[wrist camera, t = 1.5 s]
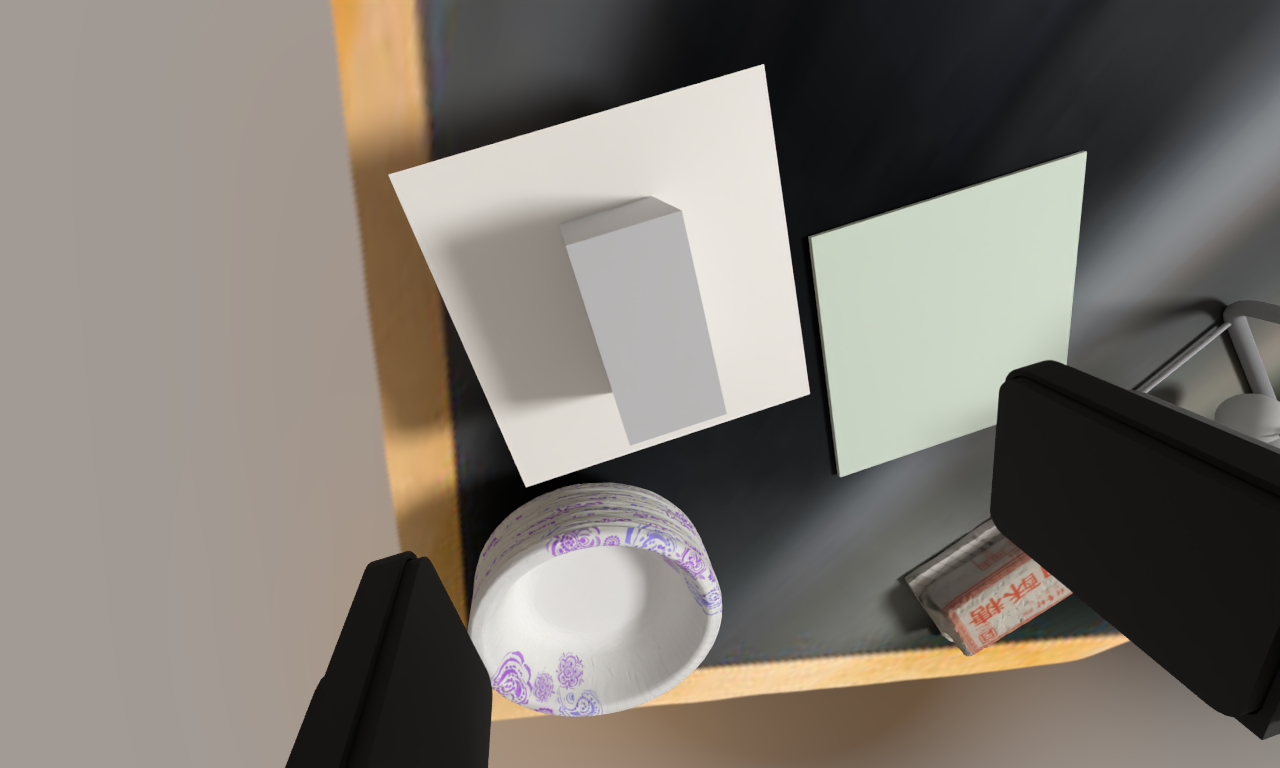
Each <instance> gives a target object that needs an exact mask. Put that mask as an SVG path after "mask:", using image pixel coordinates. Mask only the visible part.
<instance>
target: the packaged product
mask: <svg viewBox="0 0 1280 768" xmlns="http://www.w3.org/2000/svg"><path fill="white" fill-rule="evenodd" d="M905 580H906V582H907V583H908V585H909V587H910V588H911V590H912V591H913V593H914V595H915V596H916V598H917V599H918V601H919V602H920V604H921V605H922V606H923V608H924V609H925V610H926V612H927V613H928V614H929V616H930V617H931V618H932V620H933V621H934V623H935V624H936V626H937V627H938V629H939V630H940V632H941V634H942V635H943V636H944V637H945V638H946V639H948V640H949V641H953V642H954V643H955V644H956V646H957V647H958V648H959V649H960V650H961V651H962V652H963V654H964V655H966V656H972V655H974V654H975V653H977V652H979V651H981V650H982V649H983V648H987V647H988V646H989V645H991V644H993V643H994V642H996V641H998V640H999V639H1000V638H1001V637H1004V636H1005V635H1006V634H1009V633H1010V632H1012V631H1014V630H1015V629H1017V628H1018V627H1020V626H1022V625H1023V624H1025V623H1027V622H1028V621H1030V620H1031V619H1033V618H1034V617H1036V616H1037V615H1039V614H1041V613H1043V612H1044V611H1046V610H1047V609H1049V608H1050V607H1052V606H1054V605H1055V604H1057V603H1058V602H1060V601H1061V600H1063V599H1064V598H1066V597H1067V596H1069V595H1071V594H1072V593H1073V592H1071V591H1070V590H1069V589H1068V588H1067V587H1065V586H1064V585H1063V584H1062V583H1061V582H1059V581H1058V580H1057V579H1056V578H1054V577H1053V576H1052V575H1051V574H1050V573H1048V572H1047V571H1046V570H1045V569H1044V568H1042V567H1041V566H1040V565H1039V564H1038V563H1036V562H1035V561H1034V560H1033V559H1032V558H1030V557H1029V556H1028V555H1027V554H1026V553H1024V552H1023V551H1022V550H1021V549H1020V548H1018V547H1017V546H1016V545H1015V544H1014V543H1012V542H1011V541H1010V540H1009V539H1007V538H1006V537H1005V536H1004V535H1003V534H1002V533H1001V532H1000V531H999V530H998V529H997V528H996V526H995V525H994V523H993V521H992V519H991V520H989V521H987V522H985V523H984V524H982V525H981V526H979V527H978V528H976V529H975V530H973V531H972V532H970V533H969V534H967V535H966V536H965V537H964V538H962V539H961V540H960V541H958V542H957V543H955V544H954V545H952V546H950V547H949V548H947V549H946V550H945V551H943V552H942V553H941V554H939V555H938V556H937V557H935V558H934V559H932V560H930V561H929V562H927V563H925V564H924V565H922V566H920V567H919V568H917V569H916V570H914V571H913V572H911V573H910V574H909V575H907V576H905Z"/></svg>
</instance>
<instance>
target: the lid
mask: <svg viewBox="0 0 1280 768" xmlns="http://www.w3.org/2000/svg"><path fill="white" fill-rule="evenodd" d="M388 176H389V178H390V180H391V182H392V185H393V187H394V189H395V191H396V194H397V196H398V198H399V201H400V203H401V205H402V207H403V210H404V212H405V214H406V216H407V219H408V221H409V223H410V225H411V228H412V230H413V232H414V235H415V237H416V239H417V241H418V244H419V246H420V248H421V250H422V253H423V255H424V257H425V259H426V262H427V264H428V266H429V269H430V271H431V273H432V275H433V278H434V280H435V282H436V284H437V287H438V289H439V291H440V293H441V296H442V298H443V300H444V303H445V305H446V307H447V309H448V312H449V314H450V316H451V318H452V321H453V323H454V325H455V327H456V330H457V332H458V334H459V337H460V339H461V341H462V343H463V346H464V348H465V350H466V352H467V355H468V357H469V359H470V361H471V364H472V366H473V368H474V371H475V373H476V375H477V377H478V380H479V382H480V384H481V386H482V389H483V391H484V393H485V396H486V398H487V400H488V402H489V405H490V407H491V409H492V411H493V414H494V416H495V418H496V420H497V423H498V425H499V427H500V430H501V432H502V434H503V436H504V439H505V441H506V443H507V445H508V448H509V450H510V452H511V454H512V457H513V459H514V461H515V464H516V466H517V468H518V470H519V473H520V475H521V477H522V479H523V482H524V484H525V486H526V487H529V486H532V485H535V484H538V483H541V482H544V481H547V480H550V479H553V478H556V477H559V476H562V475H565V474H568V473H571V472H574V471H577V470H580V469H583V468H586V467H589V466H593V465H596V464H599V463H602V462H605V461H608V460H611V459H614V458H617V457H620V456H623V455H626V454H629V453H632V452H635V451H638V450H641V449H644V448H647V447H650V446H653V445H656V444H659V443H662V442H665V441H668V440H672V439H675V438H678V437H681V436H684V435H687V434H690V433H693V432H696V431H699V430H702V429H705V428H708V427H711V426H714V425H717V424H720V423H723V422H726V421H729V420H732V419H735V418H738V417H741V416H744V415H748V414H751V413H754V412H757V411H760V410H763V409H766V408H769V407H772V406H775V405H778V404H781V403H784V402H787V401H790V400H793V399H796V398H799V397H802V396H805V395H808V394H810V391H809V384H808V377H807V369H806V362H805V355H804V348H803V341H802V334H801V326H800V319H799V312H798V305H797V298H796V291H795V283H794V276H793V269H792V262H791V255H790V248H789V240H788V233H787V226H786V219H785V212H784V204H783V197H782V190H781V183H780V176H779V169H778V161H777V154H776V147H775V140H774V133H773V126H772V118H771V111H770V104H769V97H768V90H767V83H766V75H765V68H764V64H763V65H759V66H756V67H753V68H749V69H746V70H742V71H739V72H736V73H732V74H729V75H725V76H722V77H719V78H715V79H712V80H708V81H705V82H702V83H698V84H695V85H691V86H688V87H685V88H681V89H678V90H674V91H671V92H668V93H664V94H661V95H657V96H654V97H651V98H647V99H644V100H640V101H637V102H634V103H630V104H627V105H623V106H620V107H616V108H613V109H610V110H606V111H603V112H599V113H596V114H593V115H589V116H586V117H582V118H579V119H576V120H572V121H569V122H565V123H562V124H559V125H555V126H552V127H548V128H545V129H542V130H538V131H535V132H531V133H528V134H525V135H521V136H518V137H514V138H511V139H508V140H504V141H501V142H497V143H494V144H491V145H487V146H484V147H480V148H477V149H474V150H470V151H467V152H463V153H460V154H457V155H453V156H450V157H446V158H443V159H440V160H436V161H433V162H429V163H426V164H423V165H419V166H416V167H412V168H409V169H406V170H402V171H399V172H395V173H392V174H389V175H388Z"/></svg>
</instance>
